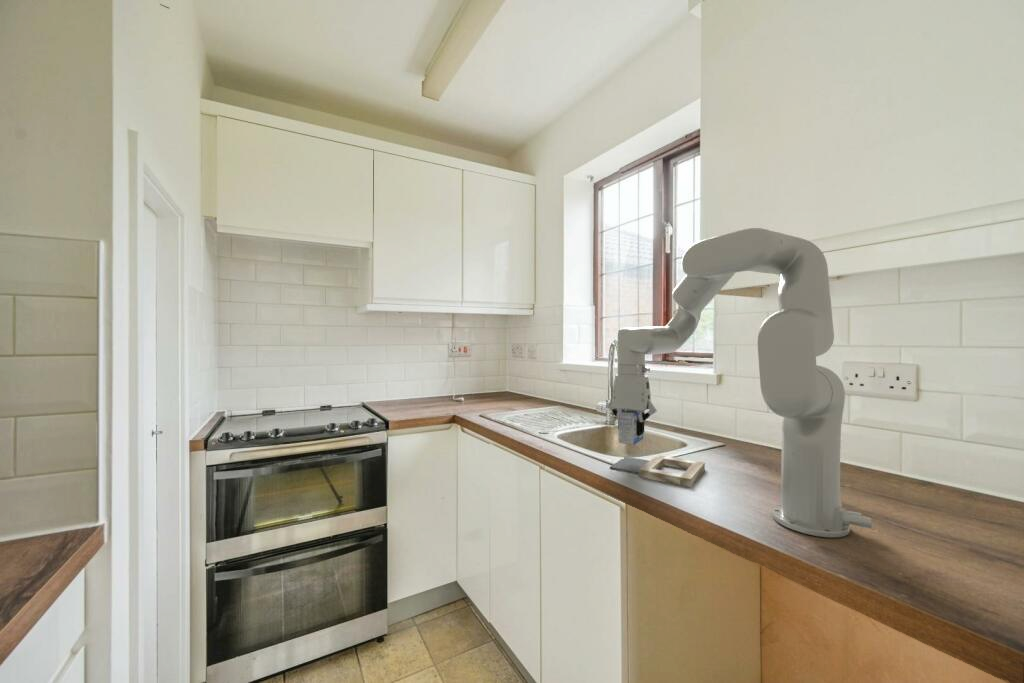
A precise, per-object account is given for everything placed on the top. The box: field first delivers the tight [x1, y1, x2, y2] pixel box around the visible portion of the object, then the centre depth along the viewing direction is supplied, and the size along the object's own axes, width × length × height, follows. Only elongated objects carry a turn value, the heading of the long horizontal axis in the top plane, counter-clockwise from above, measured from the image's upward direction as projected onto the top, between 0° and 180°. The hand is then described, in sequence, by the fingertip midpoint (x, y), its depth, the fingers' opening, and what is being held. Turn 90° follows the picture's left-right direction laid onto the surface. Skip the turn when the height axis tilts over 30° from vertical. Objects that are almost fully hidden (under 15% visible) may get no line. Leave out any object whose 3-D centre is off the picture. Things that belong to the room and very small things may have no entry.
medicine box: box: [618, 410, 644, 446], centre depth 120 cm, size 8×4×9 cm, turn 143°
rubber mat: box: [609, 456, 650, 475], centre depth 120 cm, size 8×12×1 cm, turn 144°
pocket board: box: [638, 454, 706, 488], centre depth 113 cm, size 13×16×2 cm
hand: (630, 433), depth 120 cm, fingers closed on medicine box, 4 cm apart
